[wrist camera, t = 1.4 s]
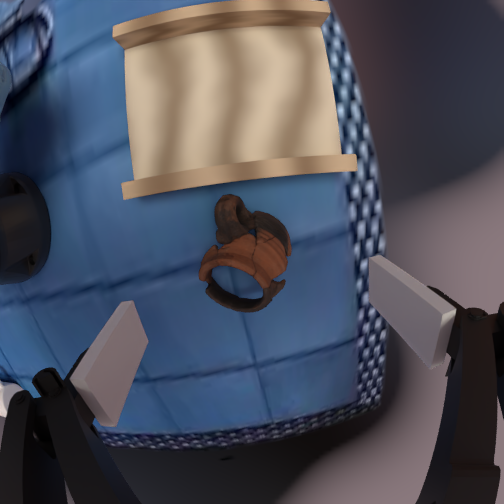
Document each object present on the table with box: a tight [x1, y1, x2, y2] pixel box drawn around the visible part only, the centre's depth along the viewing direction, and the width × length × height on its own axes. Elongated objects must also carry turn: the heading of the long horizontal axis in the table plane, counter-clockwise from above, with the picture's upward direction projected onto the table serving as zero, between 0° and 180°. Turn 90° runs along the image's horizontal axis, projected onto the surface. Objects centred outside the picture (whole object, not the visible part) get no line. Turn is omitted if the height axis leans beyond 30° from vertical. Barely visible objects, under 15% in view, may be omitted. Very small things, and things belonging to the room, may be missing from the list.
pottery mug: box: [199, 194, 291, 312], centre depth 29 cm, size 12×10×8 cm
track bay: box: [113, 0, 357, 200], centre depth 24 cm, size 22×19×5 cm
